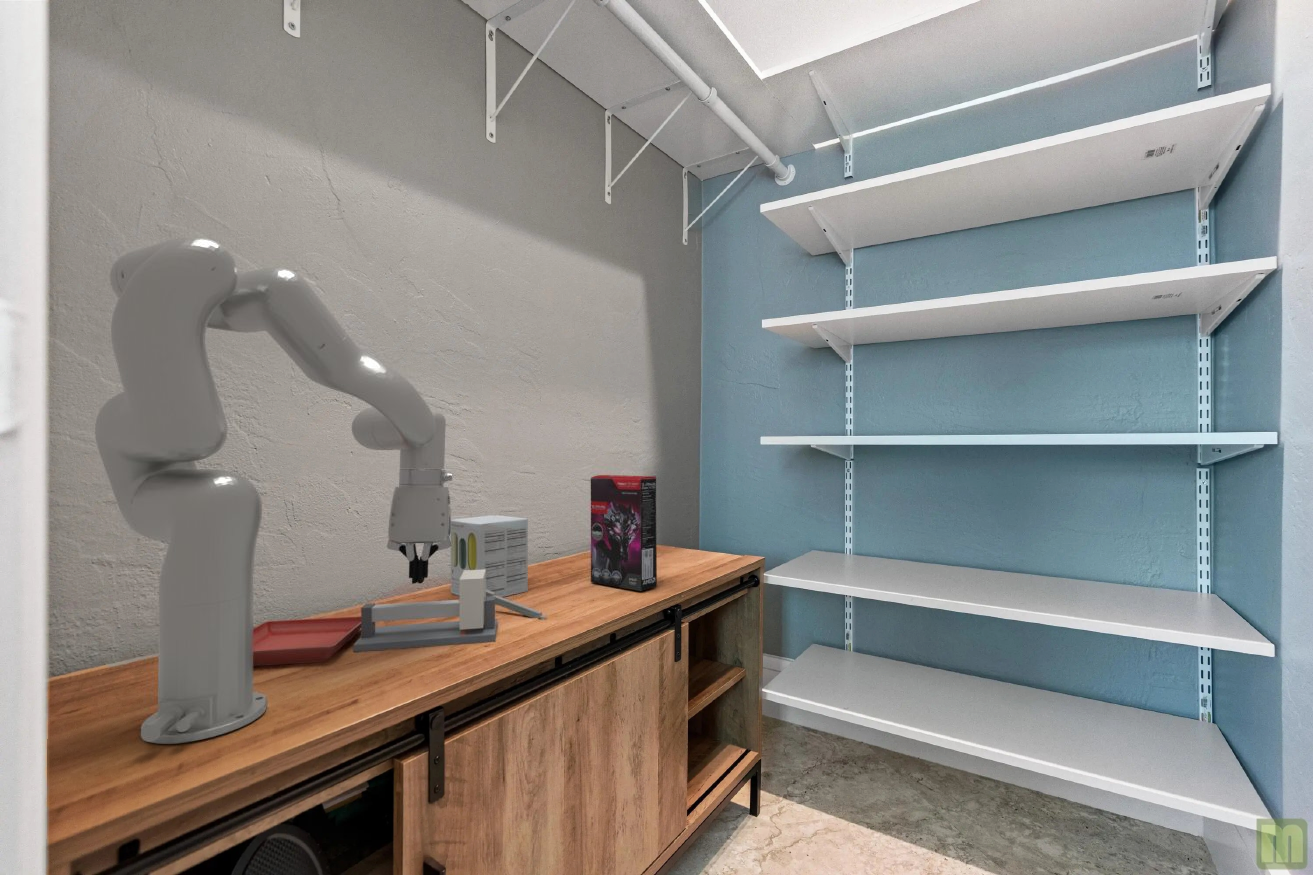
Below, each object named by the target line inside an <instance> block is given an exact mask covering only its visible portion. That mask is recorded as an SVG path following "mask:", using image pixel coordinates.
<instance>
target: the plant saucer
mask: <svg viewBox="0 0 1313 875" xmlns="http://www.w3.org/2000/svg"><path fill="white" fill-rule="evenodd" d="M359 631H361V615H360V616H341V617H338V616H337V617H323V618H304V619H303V618H302V619H301V618H300V619H285V620H283V619H282V620H268V621H264V622H261V623H260V624H258V625H257V626H255V627H254V626H253V667H256V666H257V667H258V666H273V665H275V666H276V665H287V664H289V665H291V664H307V663H322V662H323V663H324V662H325V661H328V659H330V658H331V657H332V656H334V654H336V653H337V652H338V651H339V650H340V649H341V648H342V647H343V646H345V645H346V644H347V643H348V642H349V641H350V640H352V639H353V638H354V637H355V636H356V635H357V634H359Z"/></svg>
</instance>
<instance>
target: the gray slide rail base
mask: <svg viewBox="0 0 1313 875" xmlns="http://www.w3.org/2000/svg"><path fill="white" fill-rule="evenodd" d="M360 612H361V613H360V616H361V629H360V636H359V638H358V639H357V640H356V642H354V643H353V653H357V652H358V653H359V652H370V651H386V650H397V649H398V650H399V649H411V648H423V647H425V648H426V647H437V646H451V645H463V644H476V643H477V644H478V643H490V642H491V641H493V642H496V637H497V630H498V618H496V604H495V596H488V597H486V598H484V615H485V622H484V626H483V628H476V629H462V630H460V620H455V621H454V620H453V621H441V622H440V621H439V622H427V623H413V624H398V625H397V624H396V625H383V626H382V625H380V626H376V623H377V622H390V621H392V622H394V621H406V620H407V621H408V620H420V619H421V620H422V619H423V620H424V619H437V618H453V617H460V599H450V600H447V599H446V600H433V601H417V602H415V601H413V602H399V603H398V602H397V603H383V604H376V603H373V602H372V603H371V602H370V603H365V604H364V605H362V607H361V609H360ZM491 643H492V642H491Z"/></svg>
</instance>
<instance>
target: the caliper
mask: <svg viewBox="0 0 1313 875" xmlns="http://www.w3.org/2000/svg"><path fill="white" fill-rule="evenodd" d="M488 596H495V606H496V605H497V606H500V607H503V608H505V609H508V610H511V611H512V612H515V613H518V614H520V615H523V616H526V617H529V618H531V619H535V618H540V620H542V619H544V620H547V619H548V617H547V616H546V615H543V612H542V611H540V610H537V609H535V608H532V607H529V606H526V605H524V604H521V603H519V602H515V601H513V600H511V599H507V598H505V597H500V596H497V595H496V593H494V592H492V591H489V590H487V589H486V597H488ZM546 618H547V619H546Z"/></svg>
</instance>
